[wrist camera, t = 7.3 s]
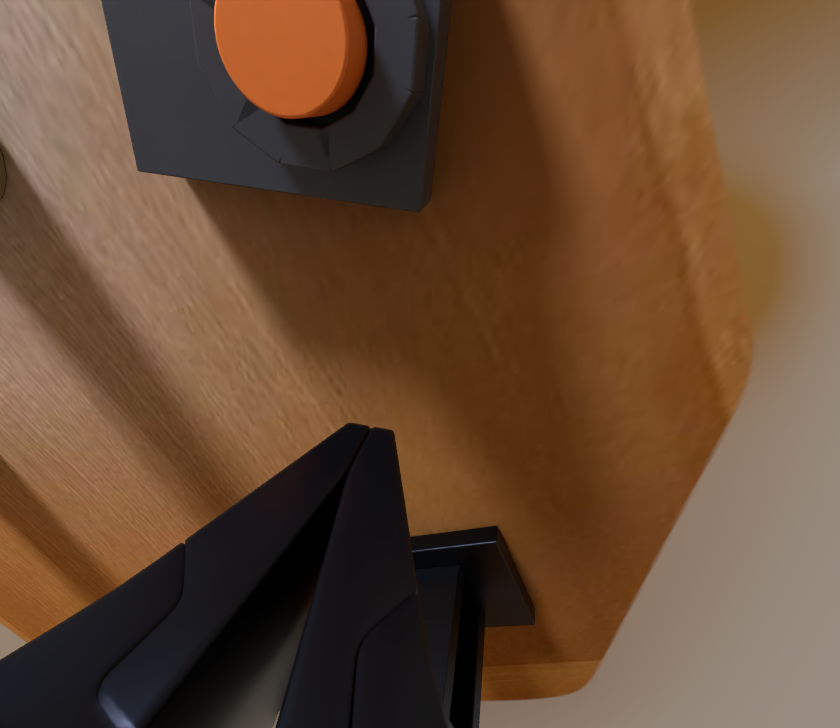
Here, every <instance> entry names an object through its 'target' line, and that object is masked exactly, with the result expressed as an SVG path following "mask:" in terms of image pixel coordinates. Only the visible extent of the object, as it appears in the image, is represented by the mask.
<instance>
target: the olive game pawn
mask: <svg viewBox="0 0 840 728" xmlns="http://www.w3.org/2000/svg"><path fill="white" fill-rule="evenodd" d="M5 182H6V173H5V167H4V162H3V156H2V153H1V151H0V199H1V197H2V196H3V194H4V189H5Z"/></svg>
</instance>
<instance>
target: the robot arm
mask: <svg viewBox="0 0 840 728" xmlns="http://www.w3.org/2000/svg"><path fill="white" fill-rule="evenodd" d="M282 702H283V703H282ZM281 705H282V707H281ZM280 707H281V710H280ZM279 710H280V714H279V717H278V721H277V725H276V728H448V726H447V722H446V719H445V715H444V712H443V708H442V704H441V700H440V696H439V692H438V688H437V685H436V681H435V676H434V672H433V668H432V664H431V660H430V655H429V650H428V644H427V639H426V634H425V628H424V623H423V617H422V610H421V604H420V597H419V595H418V586H417V579H416V572H415V566H414V559H413V553H412V546H411V540H410V533H409V527H408V520H407V513H406V507H405V500H404V494H403V487H402V481H401V474H400V467H399V461H398V454H397V448H396V441H395V435H394V432H393V431H392V430H389V429H383V428H378V427H373V428H370V427H369V426H367V425H361V424H356V423H348V424H346V425H344V426H343V427H342V428H340V429H339V430H337V431H336V432H335V433H333V434H332V435H330V436H329V437H328V438H326V439H325V440H324V441H322V442H321V443H319V444H318V445H317V446H315V447H314V448H312V449H311V450H310V451H308V452H307V453H305V454H304V455H303V456H301V457H300V458H299V459H297V460H296V461H294V462H293V463H292V464H290V465H289V466H287V467H286V468H285V469H283V470H282V471H280V472H279V473H278V474H276V475H275V476H273V477H272V478H271V479H269V480H268V481H267V482H265V483H264V484H262V485H261V486H260V487H258V488H257V489H255V490H254V491H253V492H251V493H250V494H248V495H247V496H246V497H244V498H243V499H242V500H240V501H239V502H237V503H236V504H235V505H233V506H232V507H230V508H229V509H228V510H226V511H225V512H223V513H222V514H221V515H219V516H218V517H217V518H215V519H214V520H212V521H211V522H210V523H208V524H207V525H205V526H204V527H203V528H201V529H200V530H198V531H197V532H196V533H194V534H193V535H192V536H190V537H189V538H187V539H186V541H185V544H183V543H180V544H179V545H177V546H176V547H175V548H173V549H172V550H170V551H169V552H168V553H166V554H165V555H163V556H162V557H161V558H159V559H158V560H156V561H155V562H153V563H152V564H151V565H149V566H148V567H146V568H145V569H143V570H142V571H140V572H139V573H138V574H136V575H135V576H133V577H132V578H130V579H129V580H127V581H126V582H124V583H123V584H122V585H120V586H119V587H117V588H115V589H114V590H112V591H111V592H109V593H108V594H106V595H104V596H103V597H101V598H100V599H98V600H97V601H95V602H93V603H92V604H90V605H89V606H87V607H85V608H84V609H82V610H81V611H79V612H78V613H76V614H74V615H73V616H71V617H70V618H68V619H66V620H65V621H63V622H61V623H60V624H58V625H57V626H55V627H53V628H52V629H50V630H48V631H47V632H45V633H43V634H42V635H40V636H38V637H37V638H35V639H34V640H32V641H30V642H29V643H27V644H25V645H24V646H22V647H20V648H19V649H17V650H16V651H14V652H12V653H11V654H9V655H7V656H6V657H4V658H2V659H1V660H0V728H272V726H273V724H274V722H275V719H276V717H277V714H278V712H279Z"/></svg>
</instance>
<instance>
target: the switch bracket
mask: <svg viewBox="0 0 840 728" xmlns="http://www.w3.org/2000/svg"><path fill="white" fill-rule="evenodd" d="M410 540H411V546H412V553H413V559H414V566H415V572H416V579H417V586H418V595H419V597H420V604H421V610H422V617H423V623H424V628H425V634H426V639H427V644H428V650H429V655H430V660H431V664H432V668H433V672H434V676H435V681H436V685H437V688H438V692H439V696H440V700H441V704H442V708H443V712H444V715H445V719H446V722H447V726H449V720H450V722H451V723H452V725H453V726H454V728H479V718H480V701H481V684H482V667H483V649H484V632H485V627H499V626H519V625H534V624H535V611H534V606H533V604H532V602H531V599H530V597H529V595H528V593H527V591H526V588H525V586H524V584H523V582H522V579H521V577H520V575H519V573H518V571H517V568H516V566H515V564H514V562H513V560H512V557H511V555H510V553H509V551H508V549H507V546H506V544H505V542H504V540H503V538H502V535H501V533H500V531H499V529H498V527H497V526H492V527H484V528H477V529H469V530H461V531H453V532H446V533H438V534H430V535H422V536H414V537H410Z"/></svg>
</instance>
